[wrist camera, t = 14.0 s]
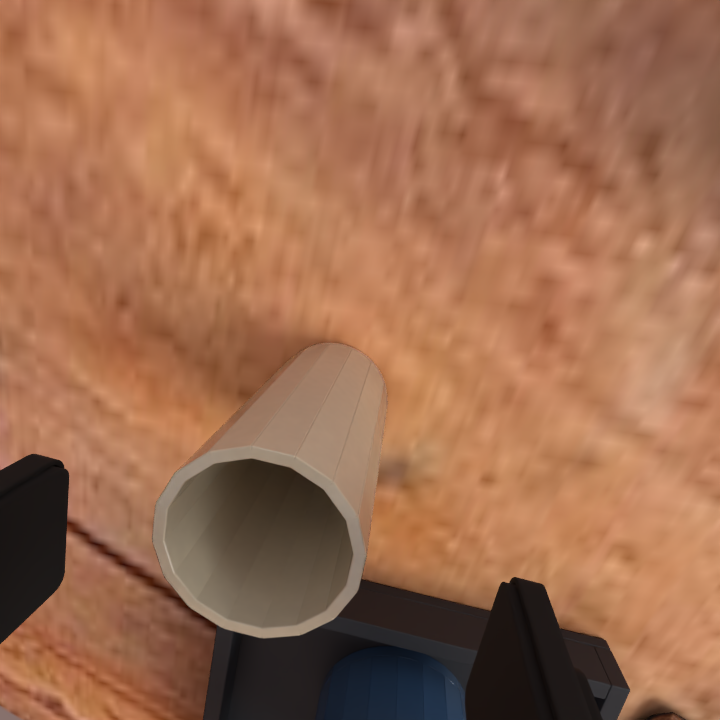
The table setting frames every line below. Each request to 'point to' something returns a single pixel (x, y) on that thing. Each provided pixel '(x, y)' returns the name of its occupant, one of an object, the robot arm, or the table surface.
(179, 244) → the table surface
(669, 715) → the sunglasses case
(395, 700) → the big cup
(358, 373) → the small cup
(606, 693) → the tray
